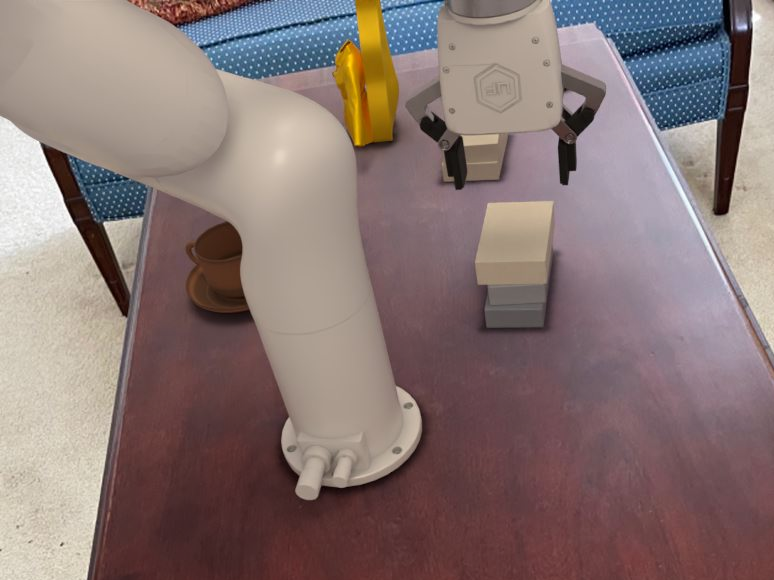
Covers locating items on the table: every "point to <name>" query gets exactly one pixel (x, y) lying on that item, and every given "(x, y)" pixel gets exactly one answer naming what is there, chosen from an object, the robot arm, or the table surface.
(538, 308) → the grey stack
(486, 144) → the cream stack
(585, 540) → the table surface
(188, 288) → the cup and saucer
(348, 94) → the figure statuette
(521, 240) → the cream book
